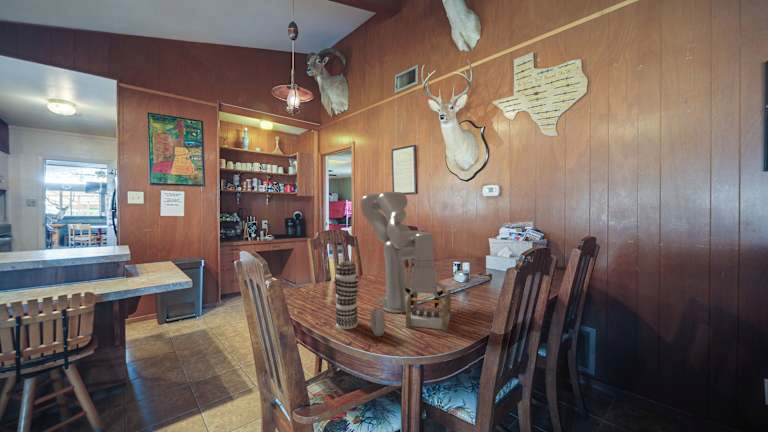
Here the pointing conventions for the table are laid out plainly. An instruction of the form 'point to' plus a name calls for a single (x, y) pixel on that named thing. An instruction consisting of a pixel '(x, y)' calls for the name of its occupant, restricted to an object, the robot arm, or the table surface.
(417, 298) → the cord front
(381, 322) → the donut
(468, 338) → the table surface
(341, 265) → the decorative candle
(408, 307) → the cord posts
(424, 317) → the breaker panel
